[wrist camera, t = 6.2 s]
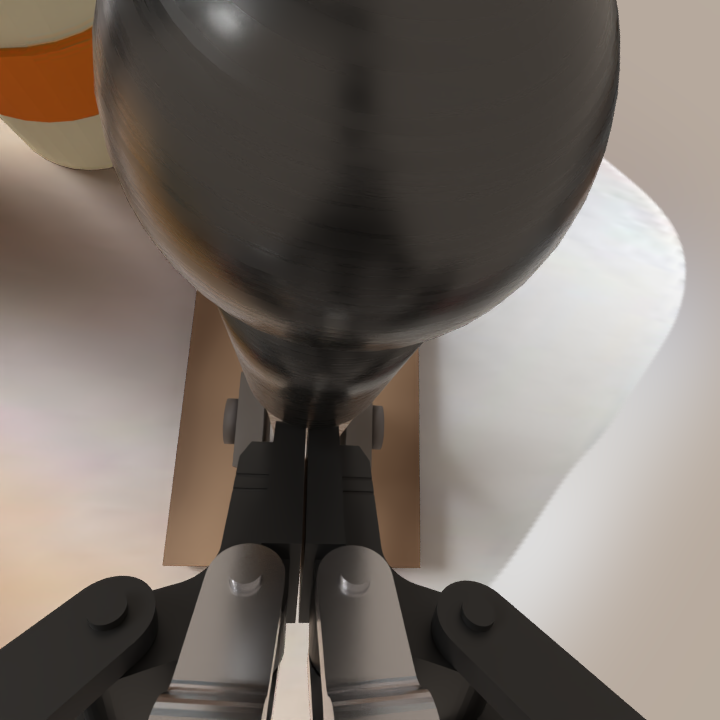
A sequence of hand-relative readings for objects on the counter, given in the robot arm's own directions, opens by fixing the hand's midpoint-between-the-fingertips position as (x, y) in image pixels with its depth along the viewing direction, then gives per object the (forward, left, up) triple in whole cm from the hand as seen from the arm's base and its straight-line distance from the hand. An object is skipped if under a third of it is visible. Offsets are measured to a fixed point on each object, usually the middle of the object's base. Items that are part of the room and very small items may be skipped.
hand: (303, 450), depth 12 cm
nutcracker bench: (0, +6, -15) cm, 16 cm away
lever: (0, +2, -9) cm, 9 cm away
